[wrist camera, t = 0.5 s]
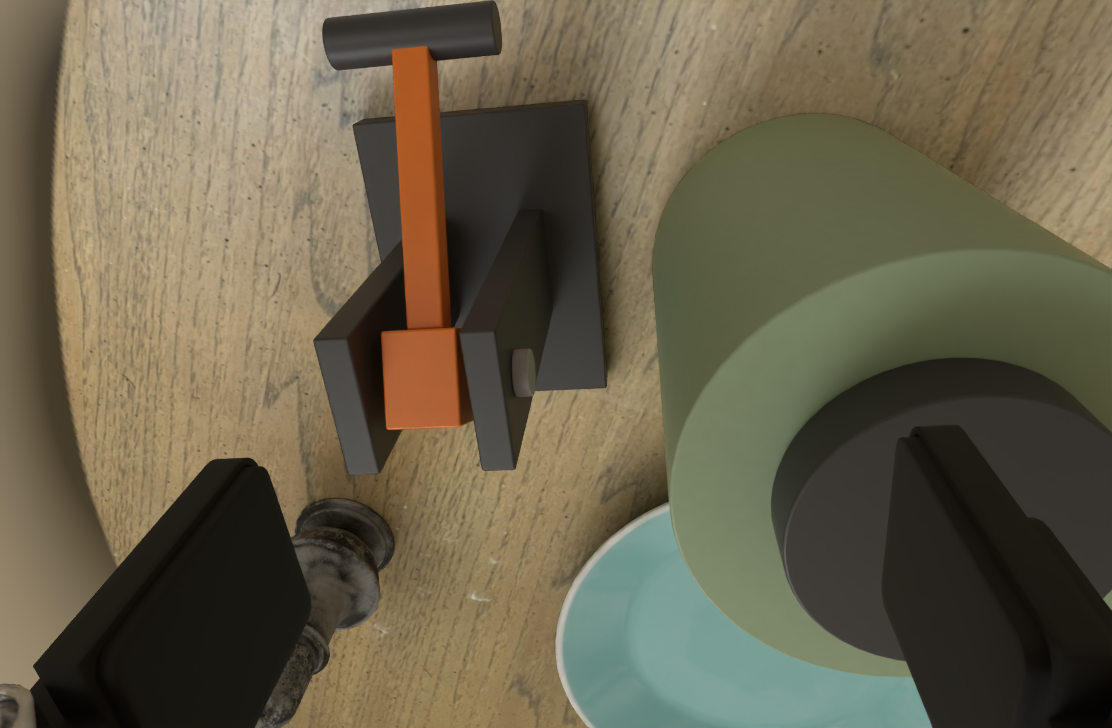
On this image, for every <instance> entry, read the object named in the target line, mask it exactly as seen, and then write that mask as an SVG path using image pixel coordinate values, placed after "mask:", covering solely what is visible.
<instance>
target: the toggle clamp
mask: <svg viewBox="0 0 1112 728" xmlns="http://www.w3.org/2000/svg"><path fill="white" fill-rule="evenodd" d="M440 126H441V145H442V163H443V182H444V200H445V219H446V237H447V256H448V274H449V293H450V311H451V328H452V327H455V328H461V330H460V332H459V336H460V342H461V348H462V354H463V360H464V366H465V372H466V378H467V384H468V390H469V396H470V401H471V407H472V413H473V419H474V425H475V431H476V437H477V443H478V449H479V455H480V461H481V467H482V470H484V471H493V470H514V469H516V465H517V461H518V457H519V453H520V448H521V444H522V440H523V436H524V431H525V427H526V423H527V419H528V414H529V410H530V406H531V402H532V397H533V395H534V392H535V391H548V390H571V389H594V388H606V387H607V362H606V349H605V335H604V322H603V309H602V295H601V282H600V269H599V255H598V242H597V229H596V215H595V202H594V189H593V175H592V162H591V149H590V135H589V122H588V109H587V101H586V100H574V101H563V102H552V103H541V104H530V105H519V106H507V107H496V108H485V109H474V110H463V111H452V112H440ZM353 131H354V135H355V140H356V145H357V150H358V155H359V159H360V164H361V169H362V174H363V178H364V183H365V188H366V193H367V198H368V202H369V207H370V212H371V217H372V221H373V226H374V231H375V236H376V241H377V245H378V250H379V255H380V260H381V263H380V264H379V266H378V267H377V268H376V269H375V270H374V271H373V272H372V274H371V275H370V276H369V277H368V278H367V279H366V280H365V282H364V283H363V284H362V285H361V286H360V287H359V288H358V289H357V291H356V292H355V293H354V294H353V295H352V296H351V297H350V299H349V300H348V301H347V302H346V303H345V304H344V305H343V307H342V308H341V309H340V310H339V311H338V312H337V313H336V315H335V316H334V317H333V318H332V319H331V320H330V321H329V323H328V324H327V325H326V326H325V327H324V328H323V329H322V330H321V332H320V333H319V334H318V335H317V336H316V337H315V338H314V341H313V342H314V346H315V350H316V354H317V357H318V361H319V365H320V369H321V373H322V376H323V380H324V384H325V388H326V391H327V395H328V399H329V403H330V407H331V410H332V414H333V418H334V422H335V426H336V429H337V433H338V437H339V441H340V444H341V448H342V452H343V456H344V460H345V463H346V467H347V471H348V474H350V475H359V474H379V473H381V471H382V469H383V467H384V465H385V463H386V461H387V459H388V457H389V455H390V453H391V451H392V449H393V447H394V445H395V443H396V441H397V439H398V437H399V435H400V433H401V431H402V429H396V430H388V429H387V428H386V417H385V399H384V381H383V364H382V346H381V332H383V331H396V330H408V329H407V316H406V298H405V280H404V262H403V244H402V226H401V208H400V190H399V172H398V154H397V136H396V118H395V117H384V118H373V119H363V120H361V121H359V122H357V123H355V124H353Z"/></svg>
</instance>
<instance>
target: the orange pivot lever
mask: <svg viewBox="0 0 1112 728" xmlns="http://www.w3.org/2000/svg"><path fill="white" fill-rule="evenodd" d="M322 35H323V44H324V48H325V52H326V55H327V58H328V60H329V62H330V64H331V66H332V67H333V68H334V69H336V70H347V69H357V68H368V67H378V66H388V65H393V82H394V100H395V118H396V136H397V154H398V172H399V190H400V208H401V226H402V244H403V262H404V280H405V298H406V316H407V329H408V330H396V331H383V332H381V346H382V364H383V381H384V399H385V417H386V428H387V429H388V430H396V429H422V428H449V427H460V426H463V425H465V424H467V423H469V422H471V421H473V420H474V419H473V413H472V407H471V401H470V396H469V390H468V384H467V378H466V372H465V366H464V360H463V354H462V348H461V342H460V336H459V332H460V330H461V328H455V327H452V328H451V311H450V293H449V274H448V256H447V237H446V219H445V200H444V182H443V163H442V145H441V126H440V108H439V89H438V71H437V61H439V60H449V59H459V58H470V57H480V56H490V55H499V54H500V53H501V50H502V32H501V23H500V17H499V12H498V8H497V5H496V3H495V1H493V0H491V1H482V2H472V3H463V4H454V5H444V6H435V7H426V8H416V9H407V10H398V11H388V12H379V13H370V14H360V15H351V16H342V17H332V18H327V19H325V21H324V23H323V29H322Z"/></svg>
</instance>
